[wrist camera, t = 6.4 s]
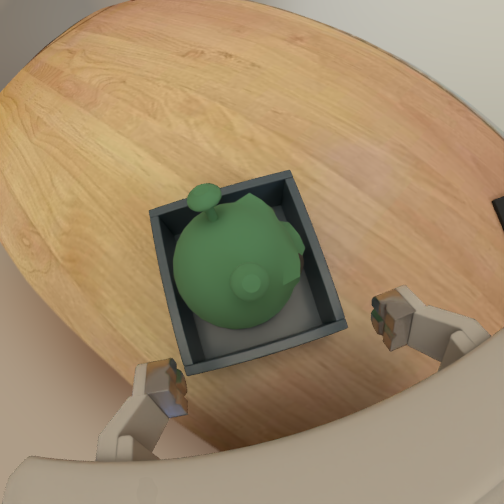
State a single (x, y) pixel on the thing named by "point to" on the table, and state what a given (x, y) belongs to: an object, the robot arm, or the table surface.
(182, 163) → the table surface
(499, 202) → the mat
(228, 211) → the alien toy
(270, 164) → the table surface
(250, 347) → the crate
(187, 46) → the table surface
